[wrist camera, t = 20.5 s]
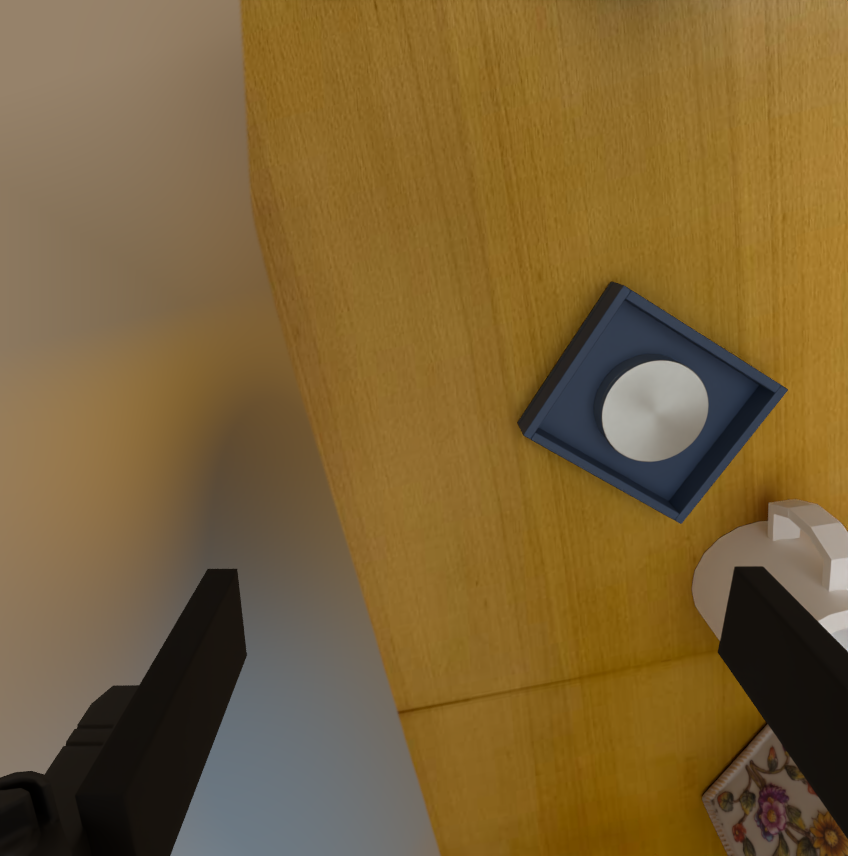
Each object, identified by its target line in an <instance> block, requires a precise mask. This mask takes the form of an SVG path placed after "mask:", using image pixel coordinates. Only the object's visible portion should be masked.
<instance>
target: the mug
mask: <svg viewBox="0 0 848 856" xmlns="http://www.w3.org/2000/svg"><path fill="white" fill-rule="evenodd" d="M768 504H769V506H768V521H759V522H755V523H752V524H748V525H745V526H741V527H738V528H736V529H735V530H733V531H731V532H729V533H728V534H726V535H724V536H722V537H721V538H719V539H718V540H717V541H716V542H715V543H714V544H713V545H712V546H711V547H710V548H709V549H708V550H707V551H706V552H705V553H704V555H703V557H702V558H701V560H700V562H699V564H698V566H697V568H696V570H695V572H694V578H693V584H692V593H693V598H694V603H695V606H696V608H697V609H698V611H699V612H700V614H701V615H702V617H703V618H704V620H705V621H706V622H707V624H708V625H709V627H710V628H711V629H712V631H713V632H714V634H715V635H716V636H717V638H718V639H719V641H720V639H721V634H722V628H723V623H724V618H725V613H726V608H727V603H728V597H729V592H730V587H731V582H732V577H733V572H734V566H763V567H764V568H765V569H766V570H767V571H768V572H769V573H770V574H771V575H772V576H773V577H774V578H775V579H776V580H777V581H778V582H779V583H780V584H781V585H782V586H783V587H784V588H785V589H786V590H787V591H788V592H789V593H790V594H791V595H792V596H793V597H794V598H795V599H796V600H797V601H798V602H799V603H800V604H801V605H802V606H803V607H804V608H805V609H806V610H807V611H808V612H809V613H810V614H811V615H812V616H813V617H814V618H815V619H816V620H817V621H818V622H819V623H820V624H821V625H822V626H823V627H824V628H825V629H826V630H827V631H828V632H829V633H830V634H831V635H832V636H833V637H834V638H835V639H836V640H837V641H838V642H839V643H840V644H841V645H842V646H843V647H844V648H845V649H846V650H847V651H848V532H847V531H846V529H845V528H844V526H843V525H842V523H841V522H840V521H838V520H837V519H836V518H834V517H833V516H832V515H831V514H829V513H828V512H827V511H825V510H824V509H823V508H822V507H820V506H819V505H818V504H814V503H810V502H806V501H802V500H798V499H791V500H784V501H777V502H770V503H768Z"/></svg>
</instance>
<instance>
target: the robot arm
mask: <svg viewBox="0 0 848 856" xmlns="http://www.w3.org/2000/svg"><path fill="white" fill-rule="evenodd" d="M718 653H719V655H720V656H721V658H722V659H723V660H724V662H725V663H726V665H727V666H728V668H729V669H730V671H731V672H732V673H733V675H734V676H735V678H736V679H737V681H738V682H739V683H740V685H741V686H742V688H743V689H744V691H745V692H746V694H747V695H748V696H749V698H750V699H751V701H752V702H753V704H754V705H755V707H756V708H757V709H758V711H759V712H760V714H761V715H762V717H763V718H764V720H765V721H766V722H767V724H768V725H769V727H770V728H771V730H772V731H773V732H774V734H775V735H776V737H777V738H778V740H779V741H780V743H781V744H782V745H783V747H784V748H785V750H786V751H787V753H788V754H789V756H790V757H791V758H792V760H793V761H794V763H795V764H796V766H797V767H798V768H799V770H800V771H801V773H802V774H803V776H804V777H805V779H806V780H807V781H808V783H809V784H810V786H811V787H812V789H813V790H814V792H815V793H816V794H817V796H818V797H819V799H820V800H821V802H822V803H823V805H824V806H825V807H826V809H827V810H828V812H829V813H830V815H831V816H832V817H833V819H834V820H835V822H836V823H837V825H838V826H839V828H840V829H841V830H842V832H843V833H844V835H845V836H846V838H847V839H848V651H847V650H846V649H845V648H844V647H843V646H842V645H841V644H840V643H839V642H838V641H837V640H836V639H835V638H834V637H833V636H832V635H831V634H830V633H829V632H828V631H827V630H826V629H825V628H824V627H823V626H822V625H821V624H820V623H819V622H818V621H817V620H816V619H815V618H814V617H813V616H812V615H811V614H810V613H809V612H808V611H807V610H806V609H805V608H804V607H803V606H802V605H801V604H800V603H799V602H798V601H797V600H796V599H795V598H794V597H793V596H792V595H791V594H790V593H789V592H788V591H787V590H786V589H785V588H784V587H783V586H782V585H781V584H780V583H779V582H778V581H777V580H776V579H775V578H774V577H773V576H772V575H771V574H770V573H769V572H768V571H767V570H766V569H765V568H764V567H763V566H734V572H733V577H732V582H731V587H730V592H729V597H728V603H727V608H726V613H725V618H724V623H723V628H722V634H721V639H720V644H719V649H718ZM246 656H247V653H246V644H245V636H244V626H243V617H242V608H241V600H240V591H239V582H238V573H237V569H208V570H207V571H206V573H205V575H204V576H203V578H202V580H201V581H200V583H199V585H198V586H197V588H196V590H195V592H194V593H193V595H192V597H191V598H190V600H189V602H188V604H187V605H186V607H185V609H184V610H183V612H182V614H181V615H180V617H179V619H178V621H177V622H176V624H175V626H174V628H173V629H172V631H171V633H170V634H169V636H168V638H167V639H166V641H165V643H164V644H163V646H162V648H161V649H160V651H159V653H158V655H157V656H156V658H155V660H154V661H153V663H152V665H151V666H150V669H149V670H148V672H147V673H146V675H145V677H144V678H143V680H142V682H141V684H140V685H137V686H112V687H111V688H110V689H109V690H107V691H106V692H105V693H104V694H103V695H101V696H100V697H99V698H98V699H97V700H96V701H94V702H93V703H92V704H91V705H90V707H89V708H88V710H87V711H86V713H85V714H84V716H83V717H82V719H81V720H80V722H79V724H78V727H77V729H74V731H73V733H72V734H71V735H70V737H69V739H68V740H67V742H66V746H64V747H63V748H62V749H61V751H60V752H59V754H58V755H57V757H56V758H55V760H54V761H53V763H52V764H51V766H50V767H49V769H48V770H47V772H46V773H45V775H44V774H40V773H37V772H33V771H26V772H16V773H12V774H9V775H7V776H4V777H1V778H0V856H170V855H171V852H172V849H173V846H174V844H175V842H176V839H177V836H178V834H179V831H180V828H181V826H182V823H183V821H184V818H185V815H186V813H187V810H188V808H189V805H190V802H191V799H192V797H193V795H194V792H195V789H196V787H197V784H198V782H199V779H200V776H201V774H202V771H203V768H204V766H205V763H206V761H207V758H208V755H209V753H210V750H211V748H212V745H213V742H214V740H215V737H216V735H217V732H218V729H219V727H220V724H221V721H222V719H223V716H224V714H225V711H226V708H227V705H228V703H229V701H230V698H231V695H232V692H233V690H234V688H235V685H236V682H237V679H238V677H239V674H240V672H241V669H242V667H243V664H244V661H245V659H246Z"/></svg>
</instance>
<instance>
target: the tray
mask: <svg viewBox="0 0 848 856" xmlns="http://www.w3.org/2000/svg"><path fill="white" fill-rule="evenodd" d="M645 354H658V355H664V356H667V357H670V358H672V359H674V360H676V361H678V362H680V363H682V364H683V365H685V366H687V367H689V368H690V369H691V370H693V371H694V372H695V373H696V374H697V375H698V376H699V377H700V379H701V380H702V382H703V384H704V386H705V388H706V391H707V395H708V403H709V407H708V415H707V419H706V422H705V425H704V427H703V429H702V431H701V432H700V434H699V435H698V437H697V438H696V439H695V440H694V442H693V443H692V444H691V445H690V446H688V447H687V448H686V449H685V450H683V451H682V452H680V453H679V454H677V455H675V456H673V457H671V458H668V459H665V460H661V461H655V462H641V461H636V460H633V459H629V458H627V457H625V456H623V455H622V454H620V453H619V452H617V451H615V450H614V449H613V447H612V446H611V445H610V443H609V442H608V441H607V440H606V439H605V437H604V436H603V435H602V434H601V432H600V430H599V429H598V426H597V424H596V420H595V415H594V403H595V398H596V394H597V391H598V389H599V387H600V385H601V383H602V381H603V380H604V379H605V377H606V376H607V375H608V374H609V373H610V372H611V371H612V370H613V369H614V368H615V367H616V366H618V365H619V364H621V363H622V362H624V361H626V360H628V359H630V358H633V357H636V356H640V355H645ZM787 391H788V389H786V388H785V387H783V386H782V385H780V384H779V383H777V382H775V381H774V380H772V379H771V378H769V377H768V376H766V375H764V374H763V373H761V372H760V371H758V370H757V369H755V368H753V367H752V366H750V365H749V364H747V363H746V362H744V361H742V360H741V359H739V358H738V357H736V356H734V355H733V354H731V353H730V352H728V351H727V350H725V349H723V348H722V347H720V346H719V345H717V344H716V343H714V342H712V341H711V340H709V339H708V338H706V337H705V336H703V335H701V334H700V333H698V332H697V331H695V330H693V329H692V328H690V327H689V326H687V325H686V324H684V323H682V322H681V321H679V320H678V319H676V318H675V317H673V316H671V315H670V314H668V313H667V312H665V311H664V310H662V309H660V308H659V307H657V306H656V305H654V304H653V303H651V302H649V301H648V300H646V299H645V298H643V297H641V296H640V295H638V294H637V293H635V292H634V291H632V290H630V289H629V288H627V287H626V286H624V285H621V284H618V283H615V282H610V284H609V285H608V287H607V288H606V290H605V291H604V293H603V294H602V296H601V297H600V299H599V300H598V302H597V303H596V305H595V306H594V308H593V309H592V311H591V312H590V314H589V315H588V317H587V318H586V320H585V321H584V323H583V324H582V326H581V327H580V329H579V330H578V332H577V333H576V335H575V336H574V338H573V339H572V341H571V343H570V344H569V346H568V347H567V349H566V350H565V352H564V353H563V355H562V356H561V358H560V359H559V361H558V362H557V364H556V365H555V367H554V368H553V370H552V371H551V373H550V374H549V376H548V377H547V379H546V380H545V382H544V383H543V385H542V386H541V388H540V389H539V391H538V392H537V394H536V395H535V397H534V398H533V400H532V401H531V403H530V404H529V406H528V407H527V409H526V410H525V412H524V413H523V415H522V416H521V418H520V419H519V421H518V425H519V427H520V429H521V431H522V433H523V435H524V436H525V437H527V438H529V439H531V440H532V441H534V442H536V443H538V444H540V445H541V446H543V447H545V448H547V449H549V450H550V451H552V452H554V453H556V454H557V455H559V456H561V457H563V458H565V459H566V460H568V461H570V462H572V463H573V464H575V465H577V466H579V467H581V468H582V469H584V470H586V471H588V472H590V473H591V474H593V475H595V476H597V477H598V478H600V479H602V480H604V481H606V482H607V483H609V484H611V485H613V486H614V487H616V488H618V489H620V490H622V491H623V492H625V493H627V494H629V495H630V496H632V497H634V498H636V499H638V500H639V501H641V502H643V503H645V504H647V505H648V506H650V507H652V508H654V509H655V510H657V511H659V512H661V513H663V514H664V515H666V516H668V517H670V518H671V519H673V520H675V521H677V522H679V523H682V522H683V521H684V520H685V519H686V517H687V516H688V515H689V514H690V512H691V511H692V510H693V509H694V507H695V506H696V505H697V503H698V502H699V501H700V500H701V498H702V497H703V496H704V495H705V493H706V492H707V491H708V490H709V488H710V487H711V486H712V485H713V483H714V482H715V481H716V480H717V478H718V477H719V476H720V475H721V473H722V472H723V471H724V470H725V468H726V467H727V466H728V465H729V463H730V462H731V461H732V460H733V458H734V457H735V456H736V455H737V453H738V452H739V451H740V450H741V448H742V447H743V446H744V445H745V443H746V442H747V441H748V439H749V438H750V437H751V436H752V434H753V433H754V432H755V431H756V429H757V428H758V427H759V426H760V424H761V423H762V422H763V421H764V419H765V418H766V417H767V416H768V414H769V413H770V412H771V411H772V409H773V408H774V407H775V406H776V404H777V403H778V402H779V401H780V399H781V398H782V397H783V396H784V394H785V393H786V392H787Z"/></svg>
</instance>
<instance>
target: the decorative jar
mask: <svg viewBox="0 0 848 856" xmlns="http://www.w3.org/2000/svg"><path fill="white" fill-rule="evenodd" d="M702 801H703V803H704V805H705V808H706V810H707V812H708V814H709V816H710V819H711V821H712V823H713V825H714V827H715V829H716V832H717V834H718V836H719V838H720V840H721V842H722V844H723V846H724V848H725V850H726V852H727V854H728V856H848V839H847V838H846V836H845V835H844V833H843V832H842V830H841V829H840V828H839V826H838V825H837V823H836V822H835V820H834V819H833V817H832V816H831V815H830V813H829V812H828V810H827V809H826V807H825V806H824V805H823V803H822V802H821V800H820V799H819V797H818V796H817V794H816V793H815V792H814V790H813V789H812V787H811V786H810V784H809V783H808V781H807V780H806V779H805V777H804V776H803V774H802V773H801V771H800V770H799V768H798V767H797V766H796V764H795V763H794V761H793V760H792V758H791V757H790V756H789V754H788V753H787V751H786V750H785V748H784V747H783V745H782V744H781V743H780V741H779V740H778V738H777V737H776V735H775V734H774V732H773V731H772V730H771V728H770V727H769V725H768V724H767V725H766V726H765V727H764V729H763V730H762V731H761V732H760V733H759V734H758V735H757V736H756V737H755V738H754V740H753V741H752V742H751V743H750V744H749V745H748V746H747V747H746V748H745V749H744V750H743V751H742V753H741V754H740V755H739V756H738V757H737V758H736V759H735V760H734V761H733V762H732V764H731V765H730V766H729V767H728V768H727V769H726V770H725V771H724V772H723V774H722V775H721V776H720V777H719V778H718V779H717V780H716V781H715V782H714V783H713V785H712V786H711V787H710V788H709V789H708V790H707V791H706V792H705V793H704V795H703V797H702Z"/></svg>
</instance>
